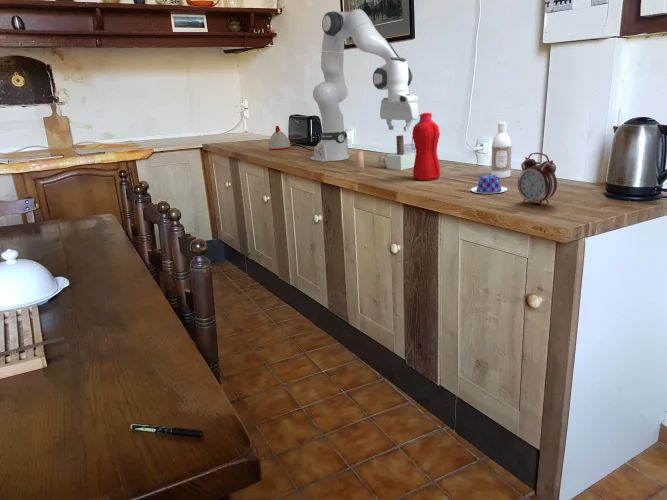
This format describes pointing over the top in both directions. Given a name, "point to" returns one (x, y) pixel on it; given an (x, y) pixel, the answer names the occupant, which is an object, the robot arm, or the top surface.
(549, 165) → the alarm clock
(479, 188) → the pudding
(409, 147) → the medicine box
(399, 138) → the long pin
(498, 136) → the bath foam
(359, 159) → the medium pin
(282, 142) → the kitchen timer
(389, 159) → the hole block
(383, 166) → the short pin
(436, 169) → the water bottle
